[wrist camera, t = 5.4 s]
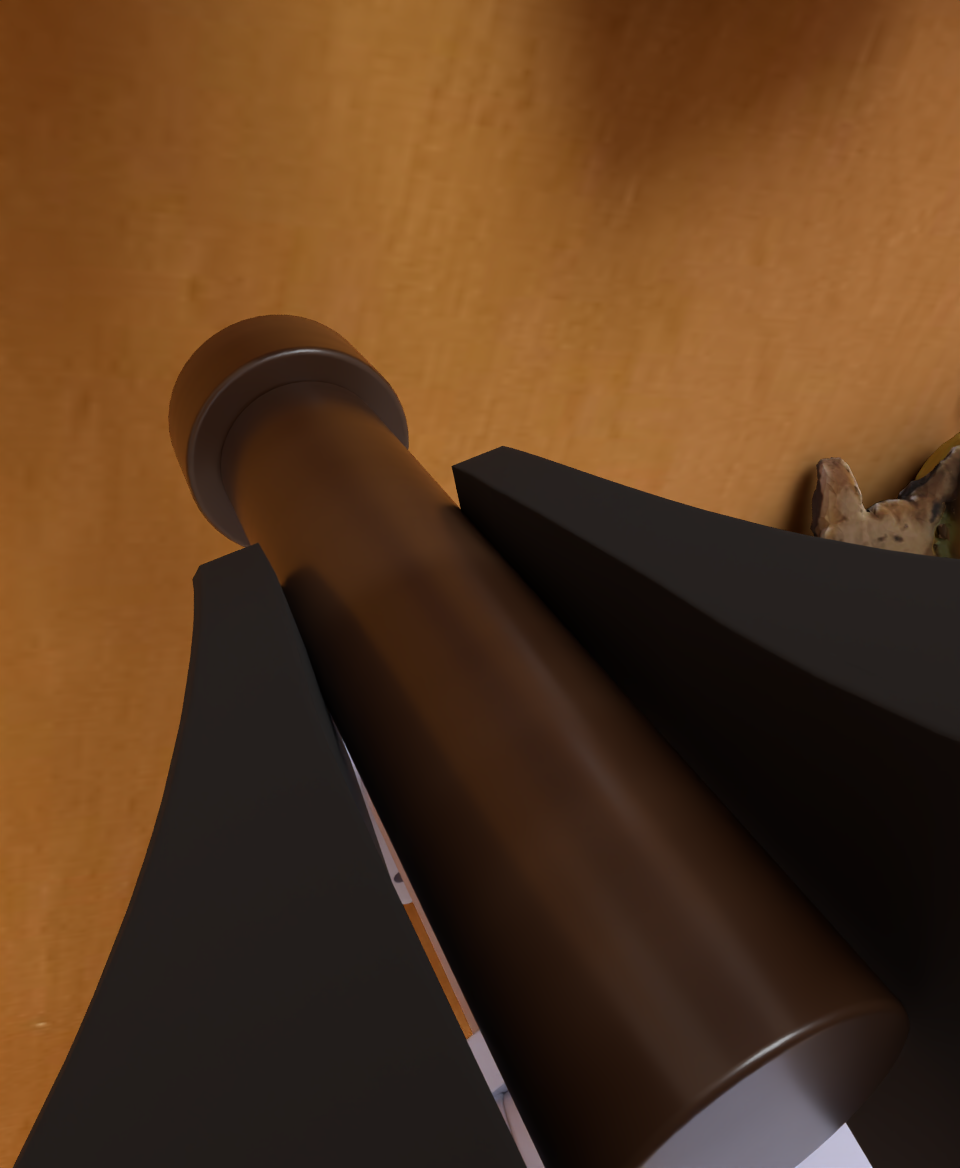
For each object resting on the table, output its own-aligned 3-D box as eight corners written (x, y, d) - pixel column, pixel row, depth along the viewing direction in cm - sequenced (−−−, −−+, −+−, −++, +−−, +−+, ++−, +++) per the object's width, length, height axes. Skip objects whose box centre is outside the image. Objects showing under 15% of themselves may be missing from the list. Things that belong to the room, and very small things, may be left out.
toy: (993, 381, 27) (680, 460, 27) (1100, 493, 24) (743, 583, 24) (940, 528, 32) (678, 593, 32) (1021, 637, 29) (729, 710, 29)
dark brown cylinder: (393, 467, 14) (923, 1101, 6) (212, 537, 13) (551, 1359, 5) (345, 284, 12) (1023, 865, 4) (130, 353, 11) (470, 1210, 3)
